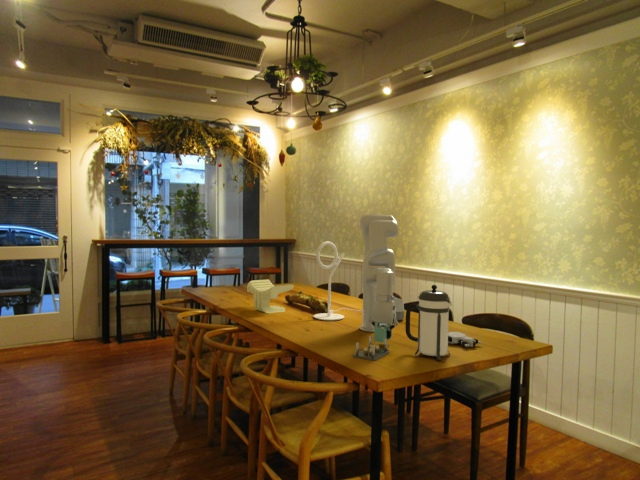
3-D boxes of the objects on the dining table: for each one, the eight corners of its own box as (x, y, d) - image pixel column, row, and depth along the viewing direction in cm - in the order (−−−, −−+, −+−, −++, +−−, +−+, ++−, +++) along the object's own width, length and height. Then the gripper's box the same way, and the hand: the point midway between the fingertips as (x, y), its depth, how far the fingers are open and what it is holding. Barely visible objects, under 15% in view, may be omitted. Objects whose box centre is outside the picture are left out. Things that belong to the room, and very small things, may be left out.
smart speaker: (407, 321, 254) (407, 296, 253) (393, 322, 250) (393, 297, 250) (398, 317, 262) (399, 294, 262) (384, 318, 259) (385, 295, 259)
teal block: (382, 335, 206) (383, 322, 205) (391, 337, 203) (392, 324, 203) (373, 341, 197) (374, 327, 197) (383, 342, 195) (383, 328, 194)
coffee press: (443, 350, 194) (445, 282, 193) (456, 361, 178) (458, 287, 177) (404, 350, 193) (406, 281, 192) (413, 361, 177) (415, 286, 176)
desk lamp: (325, 322, 245) (327, 242, 244) (305, 317, 259) (306, 240, 258) (371, 315, 269) (373, 241, 268) (351, 310, 283) (352, 240, 282)
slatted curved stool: (246, 308, 285) (247, 280, 284) (268, 306, 294) (268, 279, 294) (270, 316, 261) (270, 286, 260) (293, 313, 270) (293, 284, 270)
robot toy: (483, 348, 202) (456, 338, 214) (484, 338, 201) (456, 329, 214) (466, 352, 195) (439, 342, 207) (467, 342, 194) (440, 333, 206)
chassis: (368, 348, 195) (368, 335, 195) (389, 352, 190) (389, 338, 190) (352, 356, 182) (353, 342, 182) (375, 360, 177) (375, 346, 177)
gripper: (405, 298, 198) (403, 338, 199) (370, 294, 206) (369, 332, 208) (398, 301, 191) (397, 343, 193) (363, 297, 200) (362, 336, 201)
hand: (383, 337), depth 200 cm, fingers closed on teal block, 4 cm apart
